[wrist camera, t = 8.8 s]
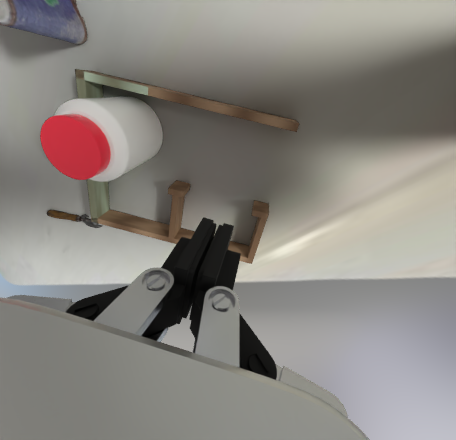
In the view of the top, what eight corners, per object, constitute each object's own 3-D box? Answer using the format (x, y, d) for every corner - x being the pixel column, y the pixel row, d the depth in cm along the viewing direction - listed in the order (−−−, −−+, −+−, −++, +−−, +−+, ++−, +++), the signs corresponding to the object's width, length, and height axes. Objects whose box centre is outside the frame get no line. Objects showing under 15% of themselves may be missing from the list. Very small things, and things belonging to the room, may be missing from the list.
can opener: (52, 213, 39) (46, 217, 38) (50, 201, 38) (44, 204, 37) (104, 229, 39) (100, 232, 38) (104, 217, 38) (99, 221, 37)
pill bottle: (125, 80, 27) (47, 75, 18) (175, 132, 29) (129, 152, 20) (94, 129, 30) (15, 147, 21) (141, 172, 32) (88, 206, 23)
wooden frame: (296, 120, 26) (299, 123, 24) (253, 251, 36) (251, 264, 33) (93, 71, 27) (74, 69, 24) (103, 212, 37) (91, 221, 34)
